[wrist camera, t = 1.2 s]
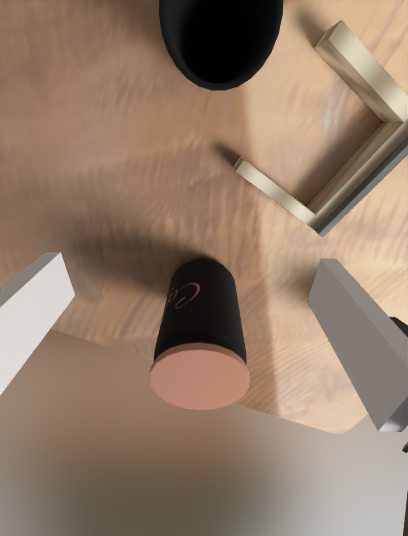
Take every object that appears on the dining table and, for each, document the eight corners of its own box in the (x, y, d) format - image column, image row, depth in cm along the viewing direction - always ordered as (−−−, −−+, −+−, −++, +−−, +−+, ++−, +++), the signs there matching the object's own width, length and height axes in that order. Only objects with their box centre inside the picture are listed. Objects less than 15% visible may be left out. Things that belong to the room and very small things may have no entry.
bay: (233, 166, 31) (236, 173, 27) (325, 32, 24) (348, 14, 20) (309, 223, 34) (322, 237, 30) (407, 122, 28) (440, 123, 24)
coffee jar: (196, 243, 36) (187, 333, 21) (248, 279, 40) (272, 378, 25) (159, 287, 41) (130, 387, 26) (208, 316, 44) (208, 420, 29)
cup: (233, 112, 28) (248, 109, 17) (170, 83, 26) (145, 60, 16) (266, 26, 24) (309, -43, 14) (193, -14, 22) (181, -124, 12)
